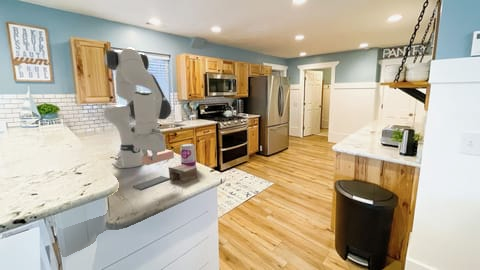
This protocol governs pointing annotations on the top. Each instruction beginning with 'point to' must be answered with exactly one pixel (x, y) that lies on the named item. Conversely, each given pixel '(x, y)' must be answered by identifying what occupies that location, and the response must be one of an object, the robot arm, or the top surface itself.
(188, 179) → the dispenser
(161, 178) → the mat
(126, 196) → the top surface
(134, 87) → the robot arm
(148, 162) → the pink rectangular block
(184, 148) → the supplement can
